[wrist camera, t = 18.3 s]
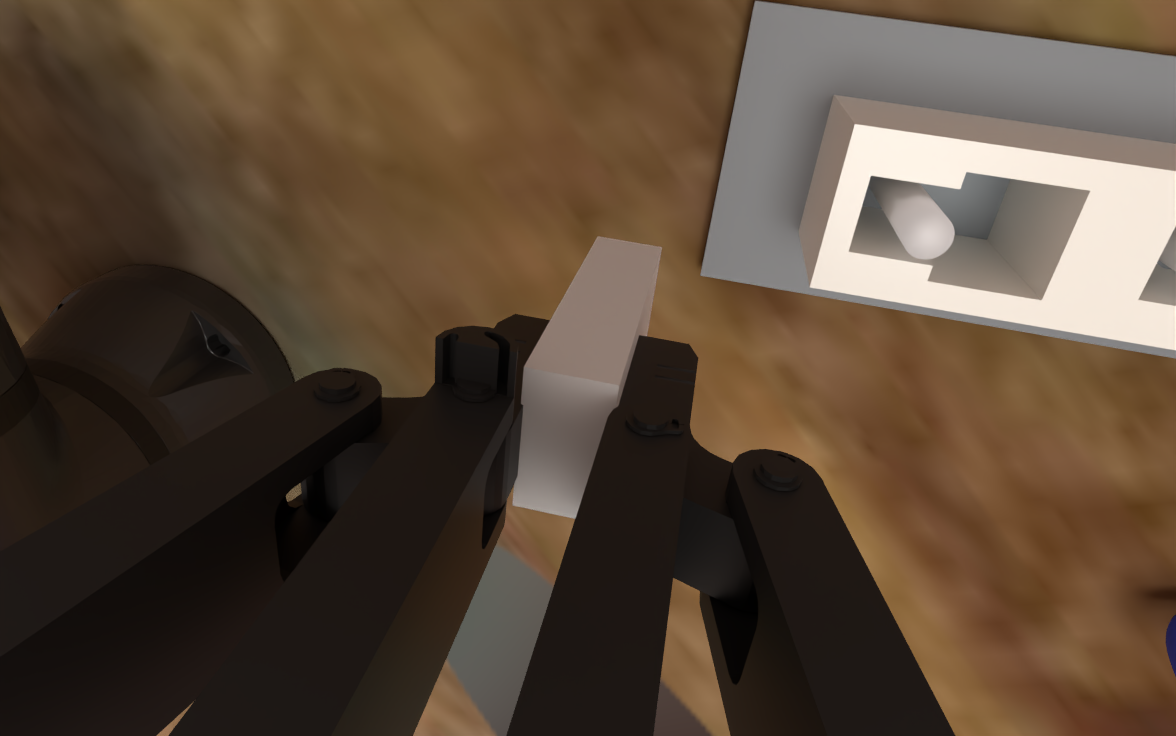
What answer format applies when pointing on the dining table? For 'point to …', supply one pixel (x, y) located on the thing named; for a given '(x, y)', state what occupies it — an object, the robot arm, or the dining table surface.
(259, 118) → the dining table surface
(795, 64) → the grey piece
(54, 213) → the dining table surface
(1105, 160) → the white slotted block
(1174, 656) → the mug
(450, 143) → the dining table surface
